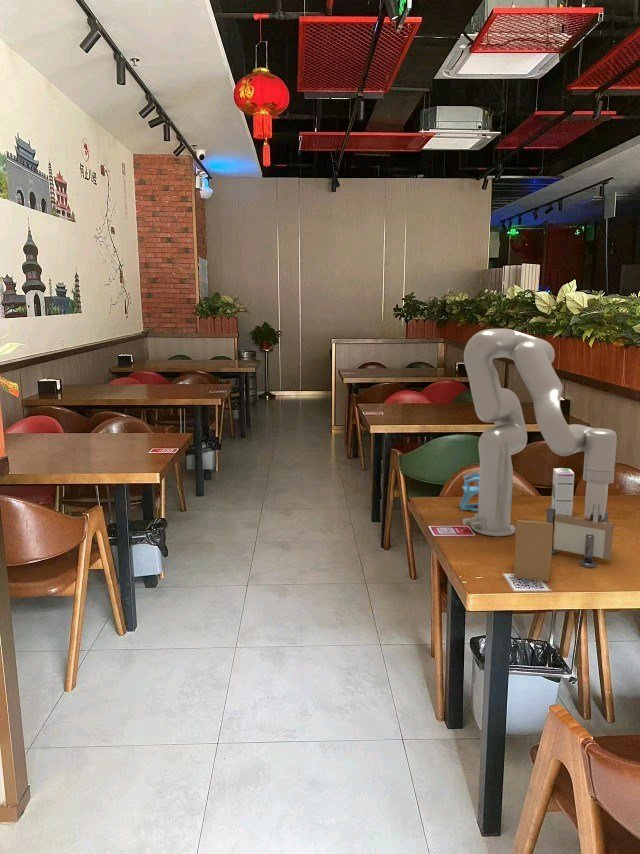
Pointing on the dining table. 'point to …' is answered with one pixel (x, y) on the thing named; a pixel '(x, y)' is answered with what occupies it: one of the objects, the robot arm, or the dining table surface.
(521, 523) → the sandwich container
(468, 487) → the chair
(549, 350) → the robot arm
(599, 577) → the dining table surface
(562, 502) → the syrup box
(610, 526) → the panel
